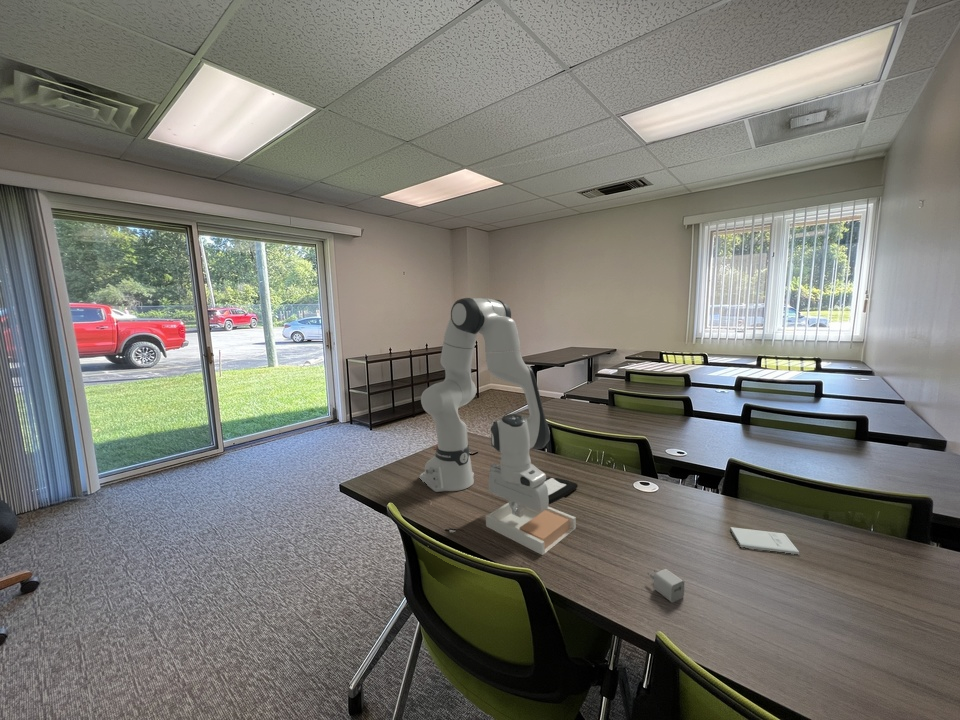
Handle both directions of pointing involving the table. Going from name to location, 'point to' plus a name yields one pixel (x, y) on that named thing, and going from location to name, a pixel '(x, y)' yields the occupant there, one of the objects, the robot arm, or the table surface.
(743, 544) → the external hard drive
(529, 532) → the light orange flat block
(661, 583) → the usb wall charger
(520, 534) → the open box
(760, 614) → the table surface
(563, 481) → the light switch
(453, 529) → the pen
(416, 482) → the table surface
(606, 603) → the table surface
